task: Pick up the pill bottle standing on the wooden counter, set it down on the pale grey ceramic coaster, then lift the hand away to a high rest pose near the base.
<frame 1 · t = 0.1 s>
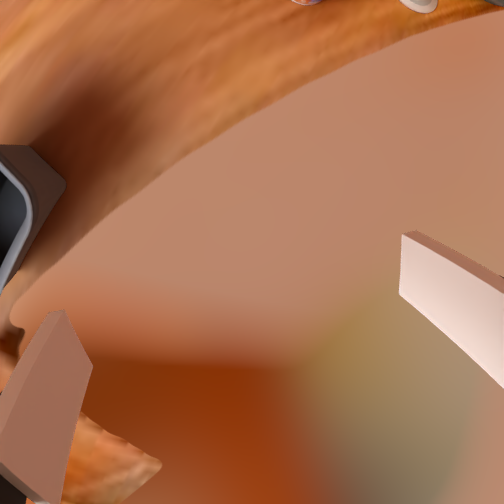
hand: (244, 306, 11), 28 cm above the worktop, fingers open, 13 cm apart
storage bin: (14, 208, 32), on the worktop
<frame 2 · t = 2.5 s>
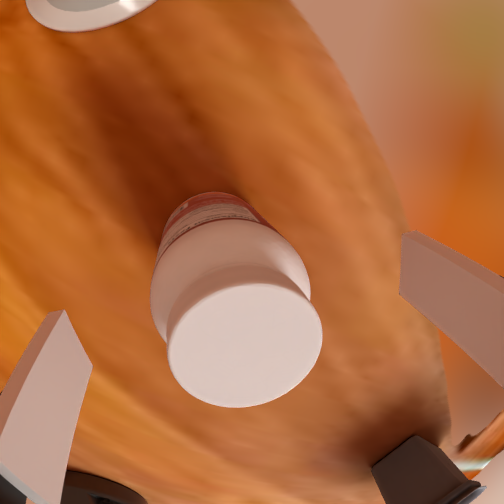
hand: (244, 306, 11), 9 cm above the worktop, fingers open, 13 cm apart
storage bin: (403, 460, 38), on the worktop
pill bottle: (212, 239, 19), on the worktop
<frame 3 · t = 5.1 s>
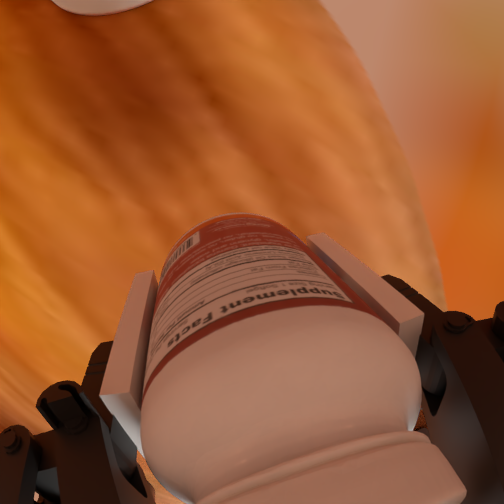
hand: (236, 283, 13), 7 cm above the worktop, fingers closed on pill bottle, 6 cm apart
pill bottle: (234, 279, 13), point 6 cm above the worktop, touching gripper
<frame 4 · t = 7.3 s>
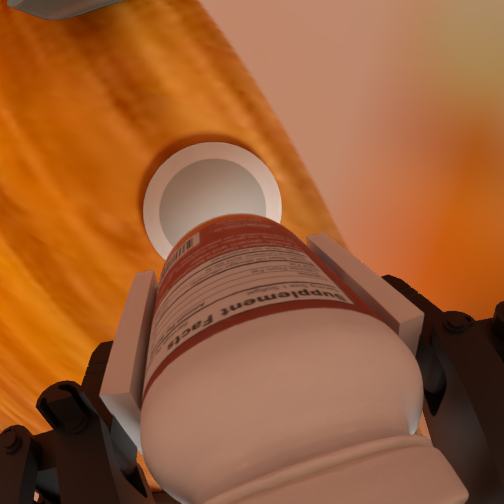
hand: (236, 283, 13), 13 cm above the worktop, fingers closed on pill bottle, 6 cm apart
coaster: (212, 210, 25), on the worktop
pill bottle: (235, 280, 13), point 13 cm above the worktop, touching gripper
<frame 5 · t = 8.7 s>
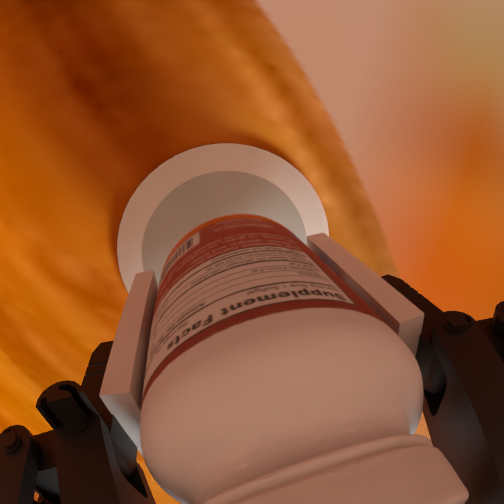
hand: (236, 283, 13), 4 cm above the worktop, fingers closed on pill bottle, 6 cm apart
coaster: (225, 251, 16), on the worktop
pill bottle: (235, 280, 13), point 3 cm above the worktop, touching gripper
when the fingers open (2 cm above the worktop, at t = 9.9 s): pill bottle drops 1 cm, resting on coaster.
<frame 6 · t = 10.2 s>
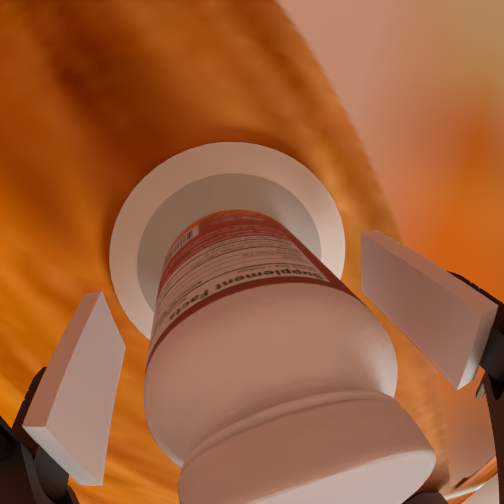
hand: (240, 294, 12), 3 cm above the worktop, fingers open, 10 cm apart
coaster: (230, 263, 14), on the worktop
pill bottle: (231, 271, 14), point 1 cm above the worktop, touching coaster
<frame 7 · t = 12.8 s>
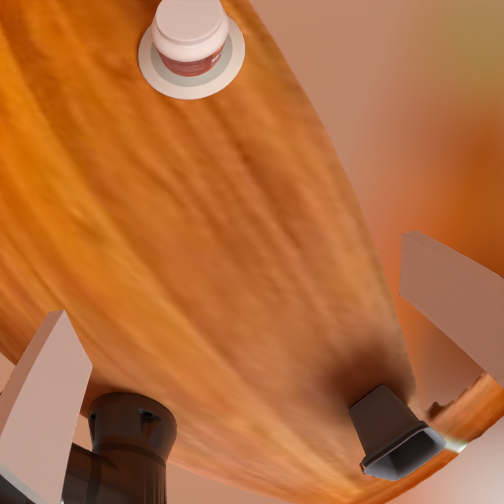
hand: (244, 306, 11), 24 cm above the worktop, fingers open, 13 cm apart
storage bin: (376, 410, 54), on the worktop
coaster: (191, 51, 27), on the worktop
pill bottle: (191, 51, 26), point 1 cm above the worktop, touching coaster
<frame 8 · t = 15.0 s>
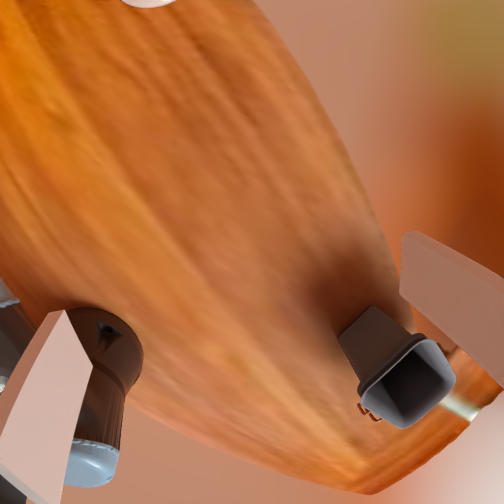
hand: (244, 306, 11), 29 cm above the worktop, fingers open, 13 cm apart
storage bin: (370, 345, 53), on the worktop
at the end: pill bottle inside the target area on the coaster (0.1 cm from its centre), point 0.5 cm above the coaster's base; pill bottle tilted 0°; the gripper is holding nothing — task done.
